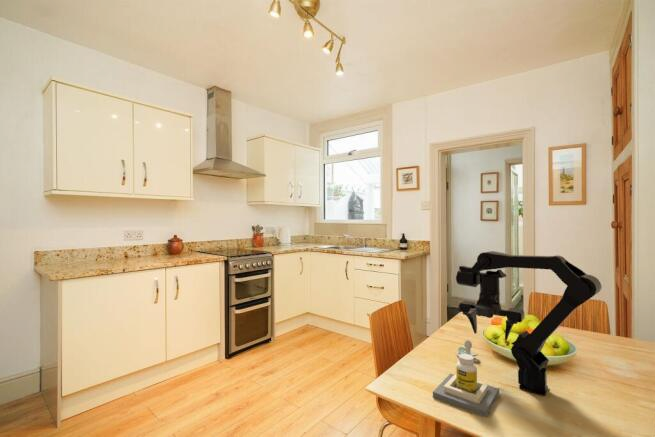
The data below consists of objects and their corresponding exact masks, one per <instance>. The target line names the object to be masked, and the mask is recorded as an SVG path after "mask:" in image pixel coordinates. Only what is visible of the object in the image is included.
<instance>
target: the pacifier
mask: <svg viewBox="0 0 655 437" xmlns="http://www.w3.org/2000/svg"><path fill="white" fill-rule="evenodd" d="M463 345H464V347H461V346H460V347H458V352H457V353H456V354H455V355H456V357H458V358H459V355H460V354H469V355H471V356H473V357H474V358H475V357H477V356H478V355H479V354H478V353H477V354H476V353H471V348H472V347H473V344H472V342H471V340H470V339H466V340H465V341H464V344H463Z"/></svg>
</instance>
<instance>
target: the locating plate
mask: <svg viewBox="0 0 655 437" xmlns="http://www.w3.org/2000/svg"><path fill="white" fill-rule="evenodd" d="M499 396H500V388H498V387H495V386H492V385H489V384H488V383H487V382H483V381H480V380H477V392H476V394H472V393H469V392H466V391H463V390H460V389H457V382H456V373H452V372H451V373H449V374H448V375H447V376H446V377H445V378H444V380H443V381H442V382H441V383H440V384H439V385H438V386H436V388H435V389H434V390H433V391H432V398H434V399H438V400H440V401H442V402H445V403H447V404H450V405H453V406H455V407H458V408H461V409H463V410H466V411H468V412H471V413H474V414H477V415H479V416H482V417H485V418H487V416H488V414H489V413H490V411H491V409H492V407H493V406H494V404H495V403H496V400H497V399H498V397H499Z"/></svg>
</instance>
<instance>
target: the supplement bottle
mask: <svg viewBox="0 0 655 437" xmlns="http://www.w3.org/2000/svg"><path fill="white" fill-rule="evenodd" d="M455 365H456V368H455V369H456V373H455V374H456V382H457V389H460V390H463V391H466V392H469V393H472V394H476V392H477V381H478V372H477V371H478V369H477V365H475V356H474V357H473V356H471V355H469V354H460V355H459V357H458V361H457V363H456V364H455Z"/></svg>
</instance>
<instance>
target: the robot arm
mask: <svg viewBox="0 0 655 437" xmlns="http://www.w3.org/2000/svg"><path fill="white" fill-rule="evenodd" d="M504 268H505V269H506V268H512V269H515V268H516V269H533V270H534V269H535V270H551V271H552V272H553V273H554V274H555V275H556V276H557V277H558V279H559V280H561V282H563V283H564V285H566V287H565V290H564V291H563V294H562V296H561V298H560V300H559V301H558V303H557V304H556V305H554V307H553V308H552V309H551V310H550V312H548V314H546V316H545V317H544V318H542V320H541V321H540V322H539V323H538V324H537V326H536V327H535V328H533V330H532V331H531V332H529V331H528V330H524V331H523V332H521V333H520V334H518V336H517V338H516V339H515V341H512V342H511V345H512V346H511V348H510V352H511V356H512V357H513V358H514V359H515V361H516V363H517V367H518V369H517V383H518V384H519V385H518V388H519V389H520V390H523V391H526V392H531V393H534V394H537V395H540V396H543V397H545V396H547V392H548V388H549V386H548V385H547V368H545V367H547V366H548V364H549V361H550V360H549V358H548V357H547V356H546V355H545V354H544V353H543V351H542V350H543V349H544V346H545V343H546V341H547V340H548V338H549V337H551V336H552V334H554V333H555V331H556V330H557V329H558V328H559V327H560V326H561V325H562V324H563V323H564V322H565V320H566V319H568V318H569V316H570V315H571V314H572V313H573V312H574V311H575V310H576V309H577V308H578V307H579V306H581V305H583V304H584V303H585V302H587V301H589V300H590V299H591V298H593V297H595V296H596V295H597V294H599V293H600V292H601V291H602V284H601V281H600V280H599V279H598V278H597V277H596V276H594V275H592V274H587V273H586V272H584V271H583V269H580V268H579V267H577V266H576V265H574V264H573V263H571V262H569V261H568V260H567V259H566V258H565V257H563V256H561V255H558V254H557V255H523V254H521V255H520V254H518V255H517V254H515V255H514V254H508V253H504V252H499V251H493V250H492V251H491V250H490V251H486V252H485V251H484V252H481V253H479V254H478V255H477V258H476V262H474V264H473V265H472V266H466V265H460V266H459V268H458V270H457V273H456V276H455V281H456V283H457V284H458V285H459V286H466V287H471V288H477V287H478V286H479V293H478V294H479V295H478V296H479V297H478V300H477V301H476V302H475V301H469V300H463V301H461V302H460V303H458V312H461V313H462V315H464V316H466V317H467V318H468V321H469V323H470V326H471V328H472V330H473V333H474V334H477V333H478V322H477V320H478V319H477V316H478V317H485V318H487V319H491V318H493V317H494V315H497V316H503V317H506V320H505V331H504V340H505V341H508V339H509V336H510V333H511V331H512V328H513V327H514V325H517V324H519V323H523V322H524V320H525V311H524V310H523V309H520V308H513V307H509V308H508V309H502V306H501V301H500V300H501V297H500V295H501V292H500V279H502V278H506V277H507V274H506V273H505V272H503V271H502V269H504ZM494 270H496V271H494ZM483 271H485V272H483Z"/></svg>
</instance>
